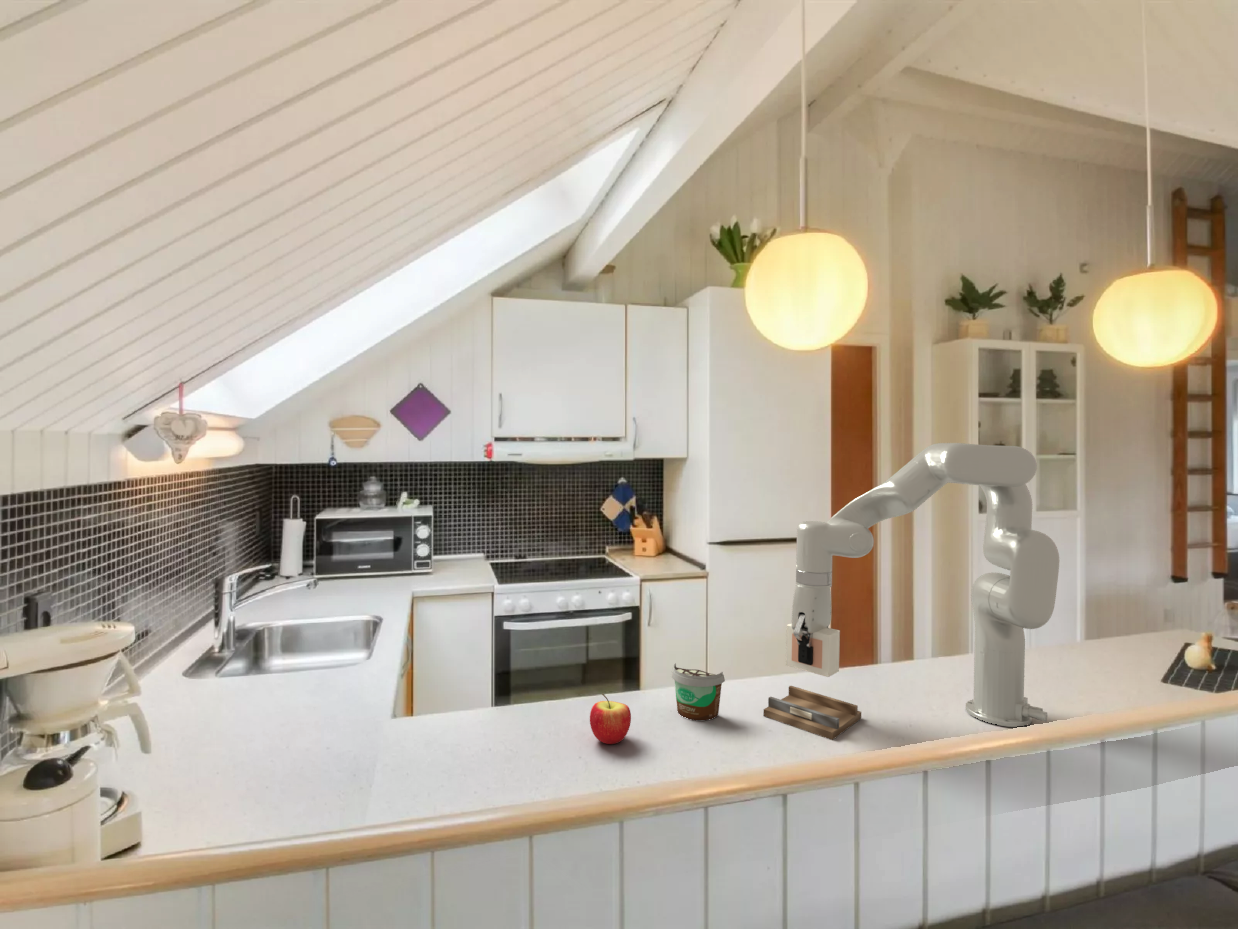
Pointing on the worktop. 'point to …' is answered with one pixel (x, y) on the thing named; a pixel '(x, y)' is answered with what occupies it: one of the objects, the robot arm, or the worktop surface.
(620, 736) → the apple
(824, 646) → the box
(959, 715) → the worktop surface
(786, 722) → the shelf
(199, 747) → the worktop surface
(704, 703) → the food container
